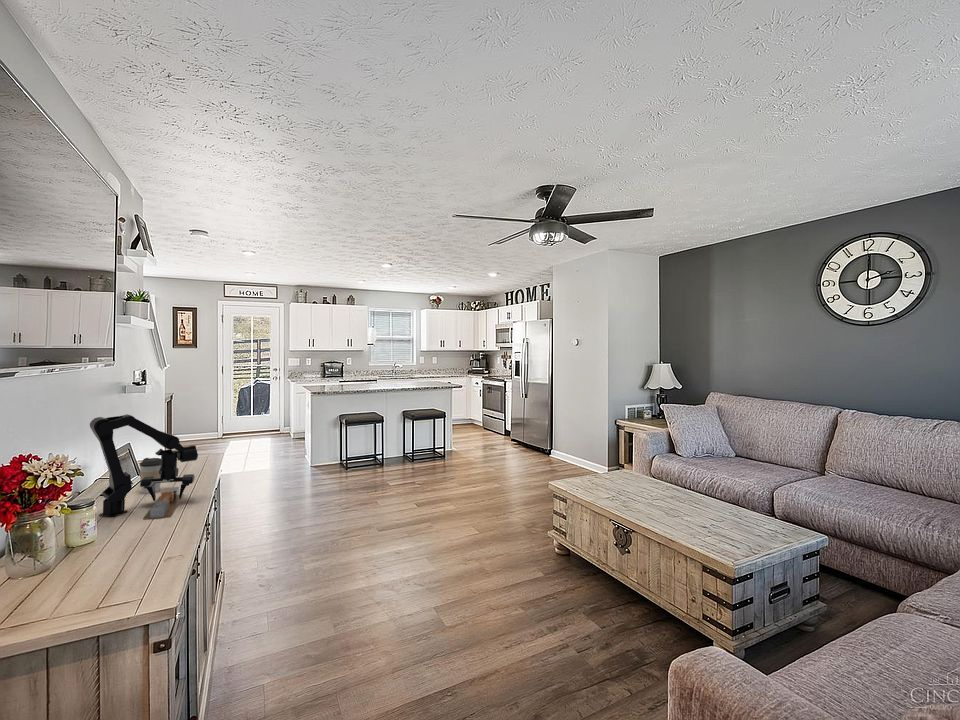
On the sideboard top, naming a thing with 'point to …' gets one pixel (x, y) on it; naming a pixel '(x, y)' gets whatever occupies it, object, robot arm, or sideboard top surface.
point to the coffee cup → (150, 471)
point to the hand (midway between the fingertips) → (167, 499)
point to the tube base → (164, 506)
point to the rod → (167, 495)
